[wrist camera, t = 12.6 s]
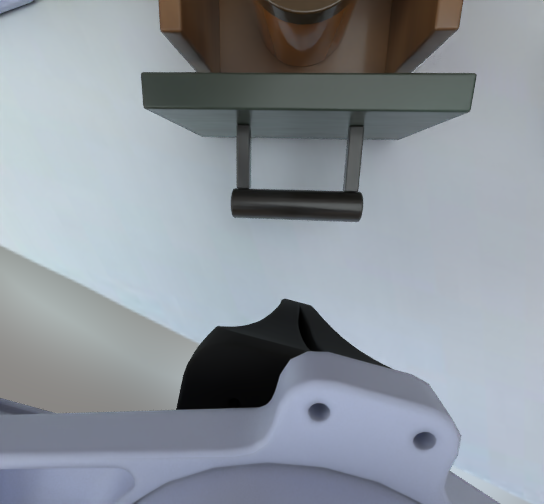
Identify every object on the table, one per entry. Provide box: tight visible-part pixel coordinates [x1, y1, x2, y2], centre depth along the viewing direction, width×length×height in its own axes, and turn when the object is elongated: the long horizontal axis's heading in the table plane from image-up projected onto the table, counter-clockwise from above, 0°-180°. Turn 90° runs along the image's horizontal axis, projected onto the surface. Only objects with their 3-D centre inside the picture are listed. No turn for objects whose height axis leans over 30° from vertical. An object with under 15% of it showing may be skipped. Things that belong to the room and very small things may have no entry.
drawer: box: [141, 0, 476, 222], centre depth 12 cm, size 18×11×7 cm, turn 178°
